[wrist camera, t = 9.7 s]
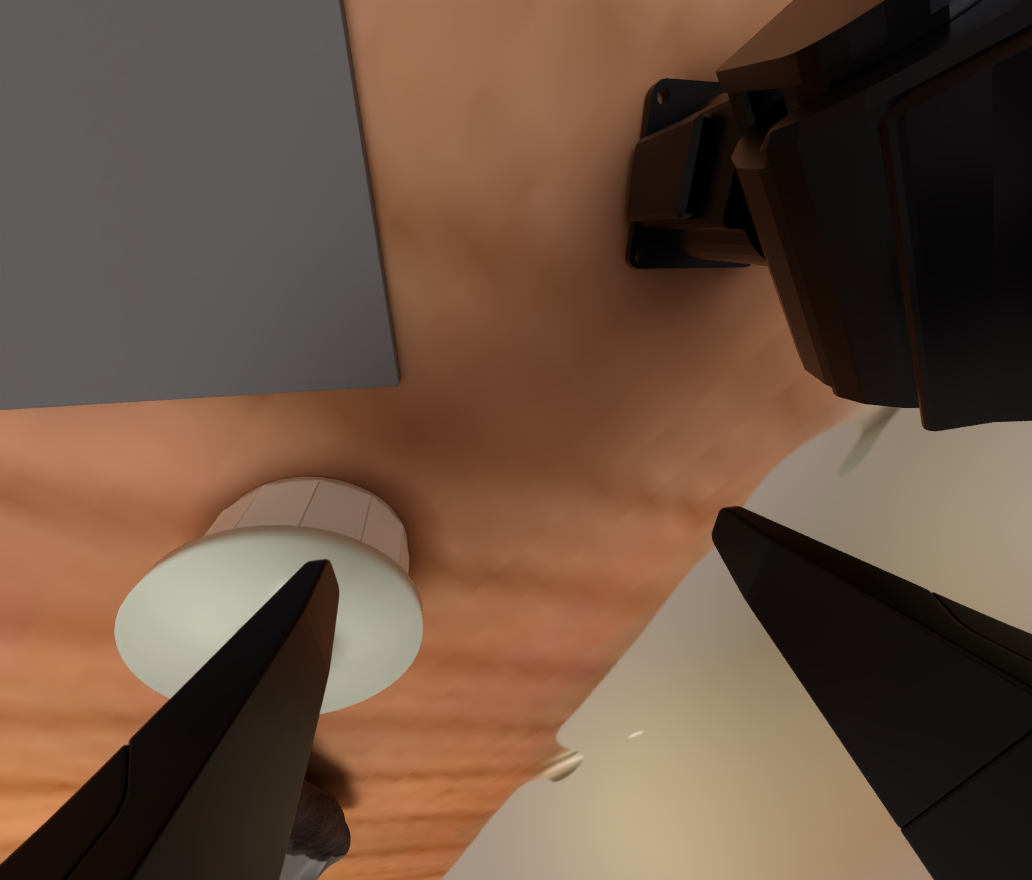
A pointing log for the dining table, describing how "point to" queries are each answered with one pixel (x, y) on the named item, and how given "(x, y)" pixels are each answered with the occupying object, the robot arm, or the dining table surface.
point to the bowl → (321, 512)
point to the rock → (315, 835)
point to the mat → (184, 204)
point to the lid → (249, 585)
